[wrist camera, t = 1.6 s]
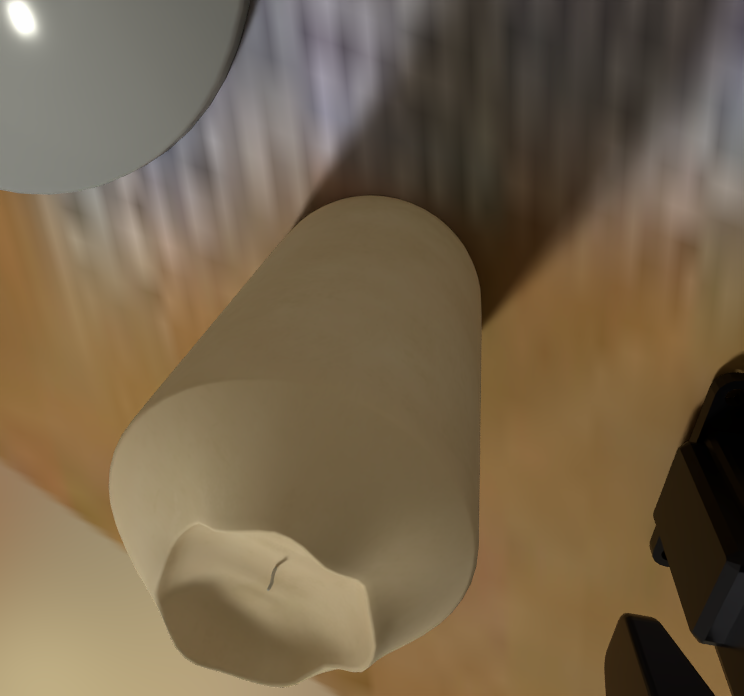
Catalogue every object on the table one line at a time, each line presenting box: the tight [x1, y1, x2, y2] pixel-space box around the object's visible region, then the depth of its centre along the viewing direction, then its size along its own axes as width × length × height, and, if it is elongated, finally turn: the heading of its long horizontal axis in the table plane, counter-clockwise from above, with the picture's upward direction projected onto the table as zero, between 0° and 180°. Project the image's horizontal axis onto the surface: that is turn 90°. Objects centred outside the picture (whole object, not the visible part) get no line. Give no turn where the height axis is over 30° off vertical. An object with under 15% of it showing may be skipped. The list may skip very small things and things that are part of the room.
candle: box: [109, 195, 482, 688], centre depth 12 cm, size 6×6×10 cm
